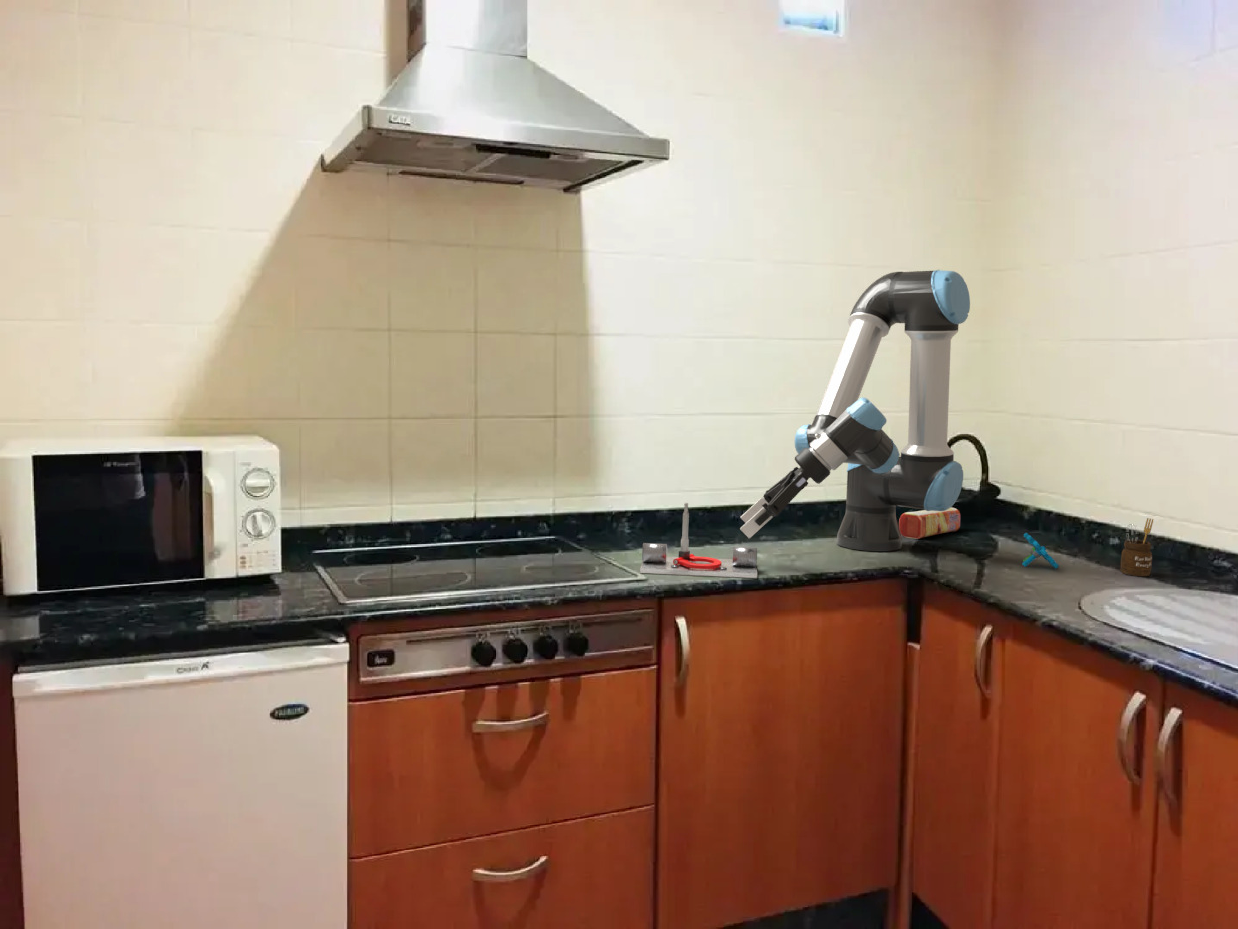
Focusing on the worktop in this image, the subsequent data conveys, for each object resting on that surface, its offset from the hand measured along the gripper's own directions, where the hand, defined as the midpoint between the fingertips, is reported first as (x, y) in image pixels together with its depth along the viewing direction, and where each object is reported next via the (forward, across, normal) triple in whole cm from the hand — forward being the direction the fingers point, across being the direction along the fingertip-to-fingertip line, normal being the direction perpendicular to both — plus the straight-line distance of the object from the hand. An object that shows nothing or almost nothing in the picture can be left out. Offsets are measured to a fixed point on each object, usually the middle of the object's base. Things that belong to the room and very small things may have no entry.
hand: (744, 527), depth 216 cm
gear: (-39, -18, +53) cm, 68 cm away
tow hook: (+12, +3, -1) cm, 12 cm away
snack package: (-27, -55, +41) cm, 73 cm away
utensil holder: (-53, -15, +67) cm, 86 cm away
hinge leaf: (+13, +1, 0) cm, 13 cm away
